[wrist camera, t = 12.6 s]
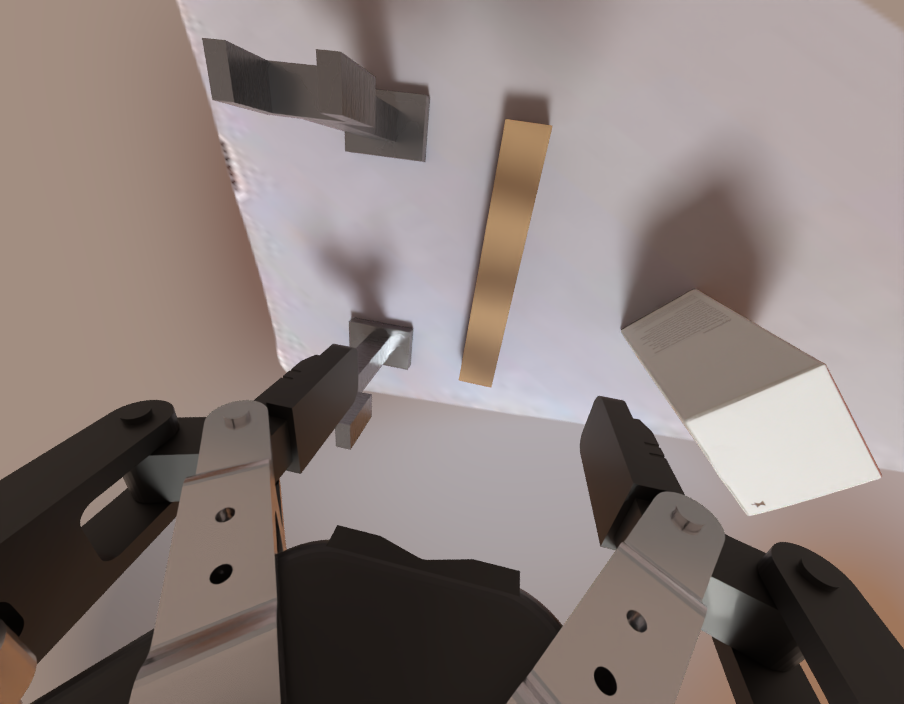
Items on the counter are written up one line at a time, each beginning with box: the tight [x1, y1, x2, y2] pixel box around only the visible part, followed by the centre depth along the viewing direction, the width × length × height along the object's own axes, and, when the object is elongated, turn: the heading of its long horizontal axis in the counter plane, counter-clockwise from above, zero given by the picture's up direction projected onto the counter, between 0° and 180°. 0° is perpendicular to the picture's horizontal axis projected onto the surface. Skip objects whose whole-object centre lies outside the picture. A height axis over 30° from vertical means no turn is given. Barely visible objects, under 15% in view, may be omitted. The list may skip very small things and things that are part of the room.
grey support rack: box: [202, 38, 430, 449], centre depth 24 cm, size 22×6×14 cm, turn 173°
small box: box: [621, 289, 882, 516], centre depth 23 cm, size 8×6×13 cm
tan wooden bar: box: [459, 119, 552, 387], centre depth 28 cm, size 20×3×3 cm, turn 172°
